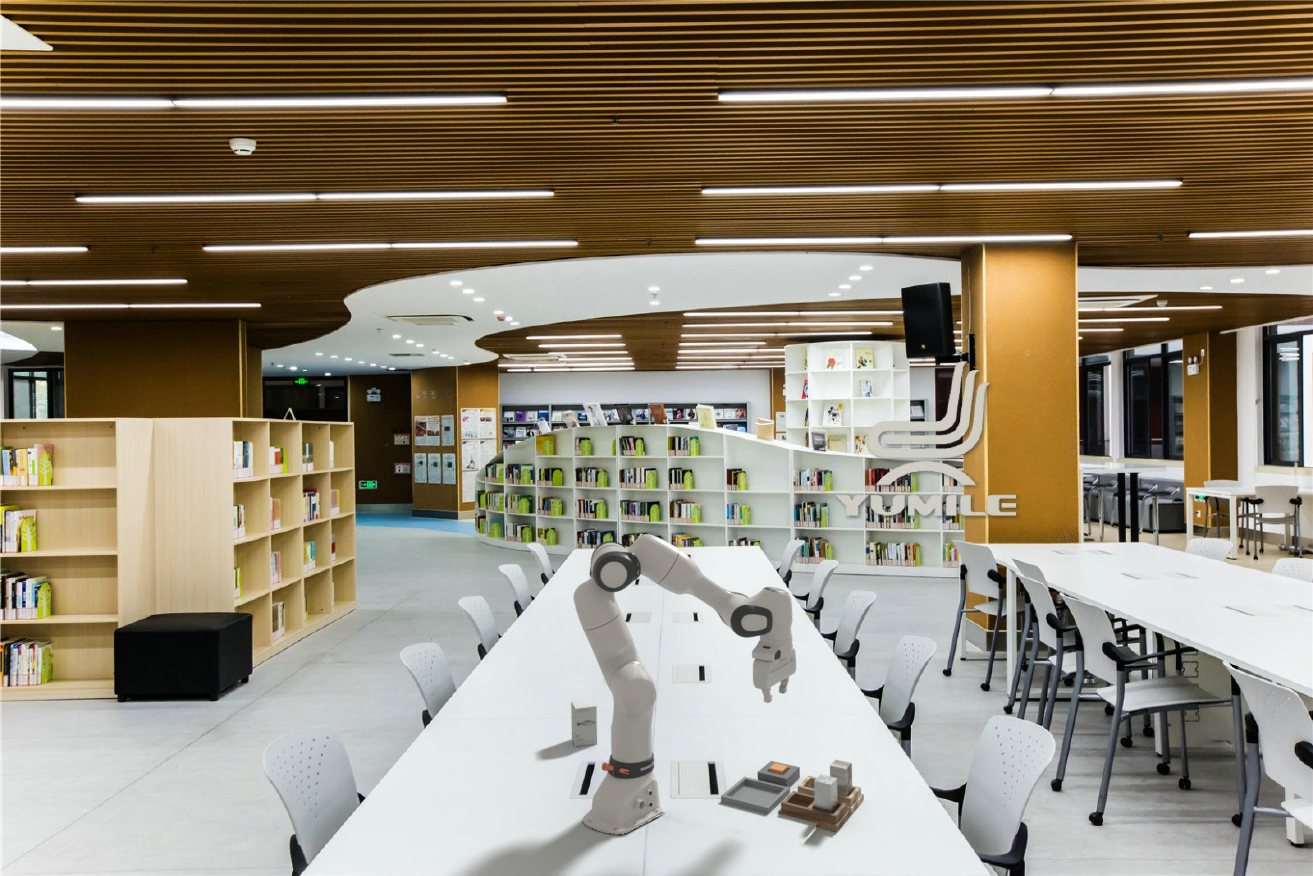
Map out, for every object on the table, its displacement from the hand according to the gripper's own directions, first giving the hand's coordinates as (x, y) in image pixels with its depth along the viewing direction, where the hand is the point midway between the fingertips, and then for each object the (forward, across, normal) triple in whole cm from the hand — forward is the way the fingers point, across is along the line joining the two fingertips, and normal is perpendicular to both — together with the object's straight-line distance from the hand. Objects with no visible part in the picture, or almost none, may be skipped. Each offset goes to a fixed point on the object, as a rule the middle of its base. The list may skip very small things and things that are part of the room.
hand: (775, 697), depth 221 cm
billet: (+26, +4, +17) cm, 31 cm away
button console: (+28, -9, -3) cm, 29 cm away
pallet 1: (+27, -7, +13) cm, 31 cm away
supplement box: (+30, -5, -71) cm, 77 cm away
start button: (+26, -9, -3) cm, 28 cm away
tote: (+28, +4, -4) cm, 29 cm away
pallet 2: (+28, +4, +13) cm, 31 cm away
